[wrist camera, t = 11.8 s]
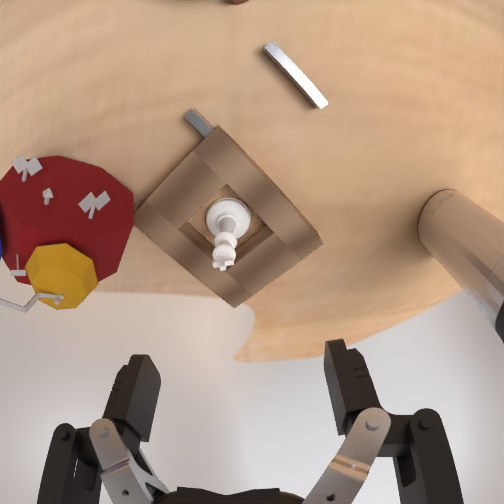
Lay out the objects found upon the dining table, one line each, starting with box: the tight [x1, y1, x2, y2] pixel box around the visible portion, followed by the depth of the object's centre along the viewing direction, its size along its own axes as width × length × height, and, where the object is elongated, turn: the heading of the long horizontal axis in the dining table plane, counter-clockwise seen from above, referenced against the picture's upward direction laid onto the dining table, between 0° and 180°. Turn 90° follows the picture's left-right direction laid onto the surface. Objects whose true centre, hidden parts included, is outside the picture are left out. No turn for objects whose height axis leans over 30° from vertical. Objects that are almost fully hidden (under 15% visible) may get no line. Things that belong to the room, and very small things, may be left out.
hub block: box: [134, 126, 323, 308], centre depth 30 cm, size 16×13×3 cm
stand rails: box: [184, 41, 328, 138], centre depth 24 cm, size 8×11×2 cm
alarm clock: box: [0, 154, 134, 313], centre depth 20 cm, size 15×9×20 cm, turn 59°
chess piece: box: [206, 197, 251, 271], centre depth 27 cm, size 5×5×10 cm
